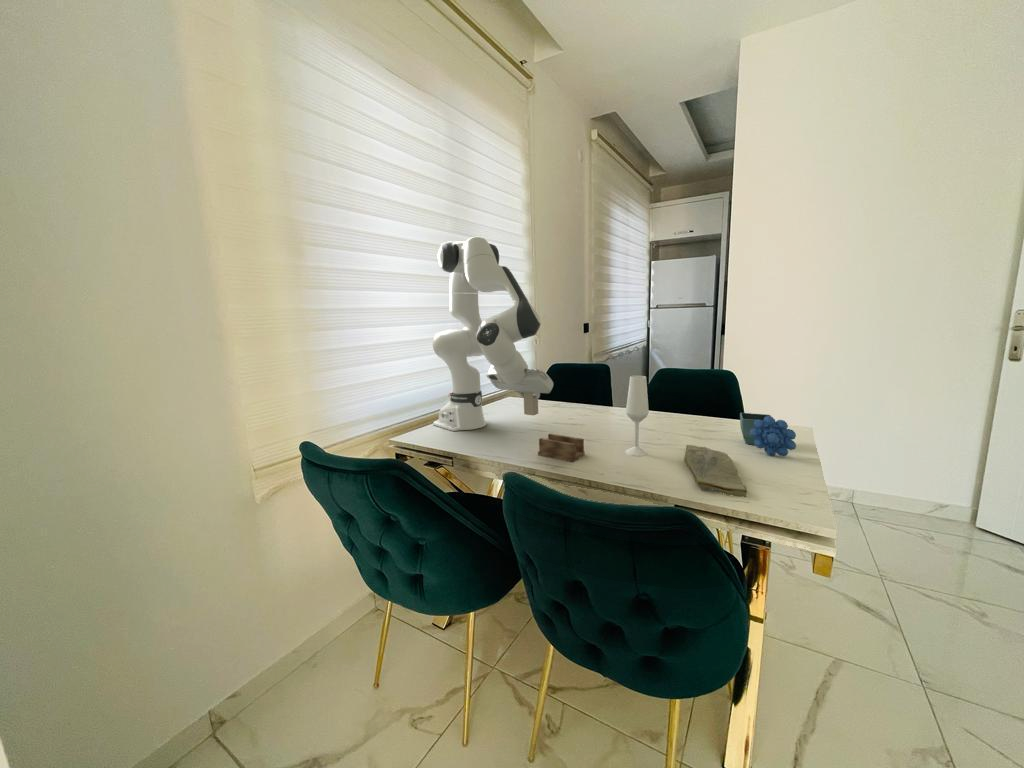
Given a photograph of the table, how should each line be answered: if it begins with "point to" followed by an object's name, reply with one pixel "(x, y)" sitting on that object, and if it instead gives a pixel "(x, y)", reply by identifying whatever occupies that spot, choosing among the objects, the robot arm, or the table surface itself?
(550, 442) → the wooden napkin holder
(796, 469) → the table surface
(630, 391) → the champagne flute
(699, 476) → the stone slab
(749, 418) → the flower pot
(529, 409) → the strip
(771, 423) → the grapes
